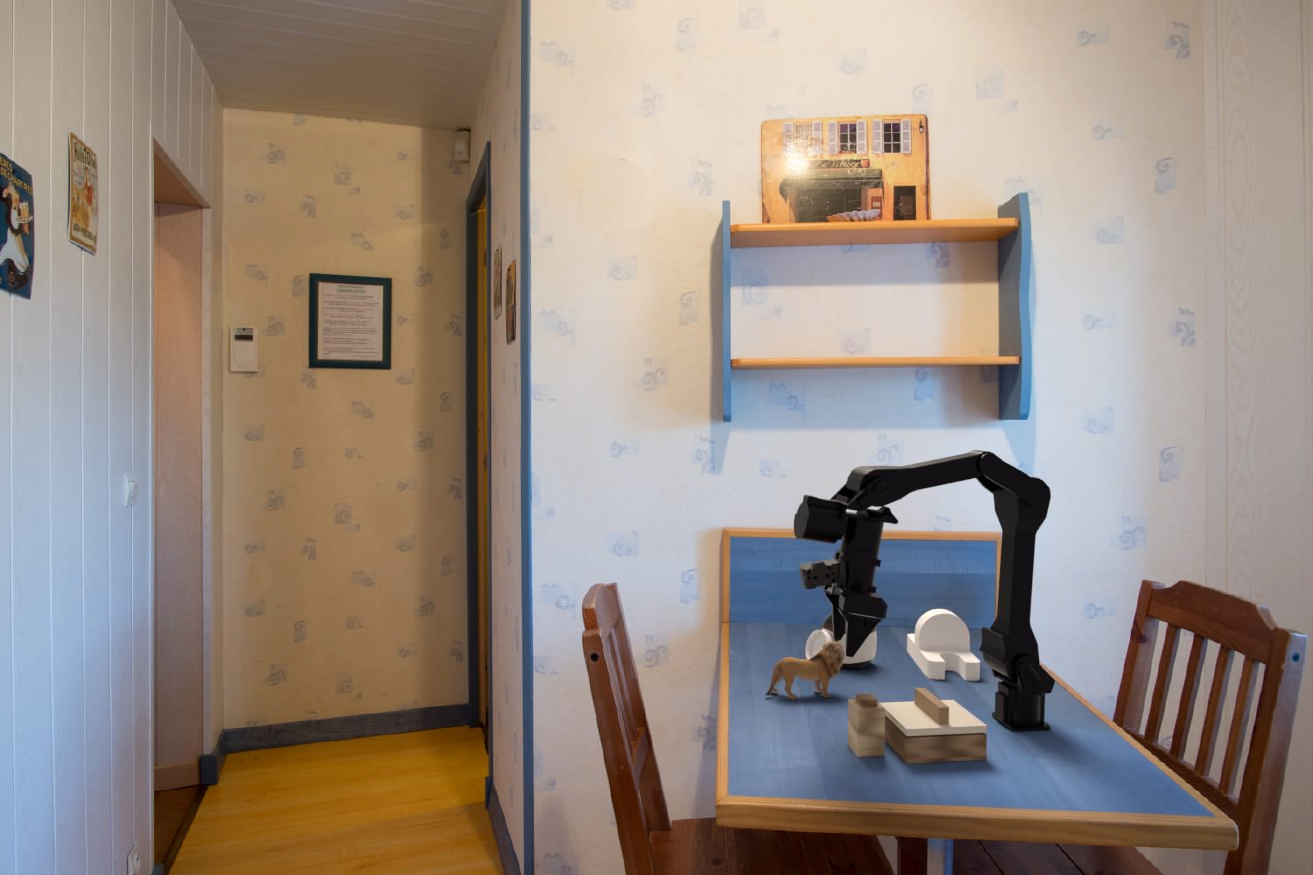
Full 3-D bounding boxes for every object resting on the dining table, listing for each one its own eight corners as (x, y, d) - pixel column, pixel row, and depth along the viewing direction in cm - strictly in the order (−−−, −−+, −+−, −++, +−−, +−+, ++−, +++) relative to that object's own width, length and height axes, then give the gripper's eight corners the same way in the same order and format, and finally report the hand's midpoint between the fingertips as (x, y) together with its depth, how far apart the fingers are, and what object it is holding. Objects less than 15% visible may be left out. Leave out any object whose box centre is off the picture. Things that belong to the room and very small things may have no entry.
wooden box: (952, 731, 124) (952, 707, 124) (986, 759, 114) (986, 734, 114) (878, 734, 123) (878, 710, 123) (906, 763, 113) (906, 738, 113)
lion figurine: (835, 686, 144) (836, 636, 144) (850, 696, 139) (850, 645, 138) (759, 693, 140) (760, 642, 140) (771, 704, 135) (772, 651, 135)
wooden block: (873, 743, 120) (874, 691, 119) (884, 755, 116) (885, 701, 115) (847, 744, 119) (848, 692, 119) (857, 756, 115) (858, 702, 115)
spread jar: (881, 664, 156) (882, 605, 156) (852, 678, 148) (853, 616, 147) (828, 651, 164) (828, 595, 164) (797, 663, 156) (798, 605, 156)
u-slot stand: (953, 651, 165) (954, 600, 165) (981, 681, 147) (982, 624, 147) (905, 650, 166) (906, 599, 165) (928, 680, 148) (929, 622, 147)
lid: (953, 706, 124) (953, 683, 124) (986, 732, 114) (987, 708, 114) (878, 709, 123) (879, 686, 122) (906, 736, 113) (907, 711, 113)
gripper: (798, 531, 132) (783, 624, 132) (818, 548, 113) (800, 656, 113) (865, 542, 131) (850, 635, 132) (896, 561, 113) (877, 669, 113)
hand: (842, 647), depth 123 cm, fingers open, 9 cm apart
